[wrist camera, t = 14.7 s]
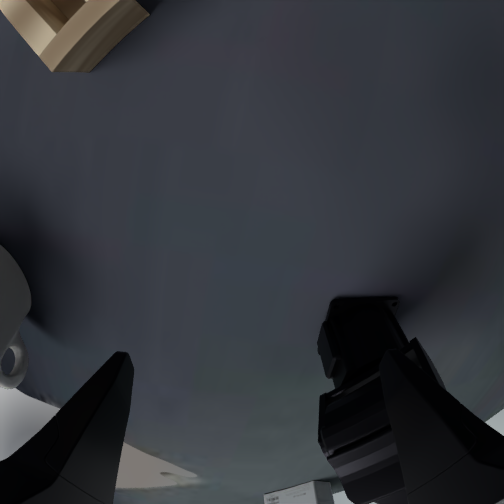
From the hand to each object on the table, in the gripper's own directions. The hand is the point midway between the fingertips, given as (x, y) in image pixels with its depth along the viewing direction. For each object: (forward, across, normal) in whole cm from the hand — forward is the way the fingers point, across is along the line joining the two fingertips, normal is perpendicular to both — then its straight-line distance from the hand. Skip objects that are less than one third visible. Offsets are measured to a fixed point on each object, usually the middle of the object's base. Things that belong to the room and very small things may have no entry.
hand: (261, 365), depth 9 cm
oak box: (+12, +12, -16) cm, 23 cm away
